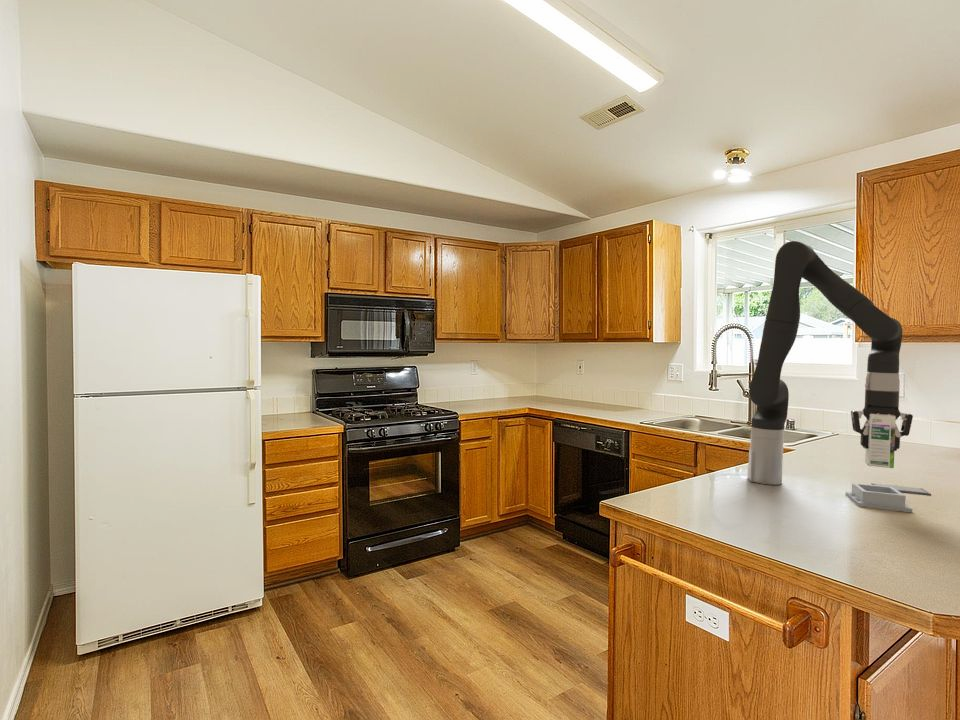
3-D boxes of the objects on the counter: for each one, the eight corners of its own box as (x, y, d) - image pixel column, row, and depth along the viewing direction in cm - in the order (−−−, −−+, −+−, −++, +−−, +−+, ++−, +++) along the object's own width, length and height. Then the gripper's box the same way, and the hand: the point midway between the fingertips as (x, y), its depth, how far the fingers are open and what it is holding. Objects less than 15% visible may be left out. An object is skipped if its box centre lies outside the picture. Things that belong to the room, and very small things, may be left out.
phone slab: (931, 497, 157) (931, 493, 157) (878, 491, 162) (878, 488, 162) (921, 491, 163) (921, 488, 163) (871, 486, 168) (871, 483, 168)
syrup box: (868, 466, 146) (870, 413, 145) (864, 462, 151) (866, 411, 150) (894, 468, 143) (896, 415, 142) (889, 464, 148) (891, 413, 148)
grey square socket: (858, 506, 144) (858, 491, 144) (845, 495, 155) (846, 481, 155) (912, 512, 139) (913, 497, 139) (895, 500, 151) (895, 486, 151)
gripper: (855, 388, 145) (853, 449, 146) (919, 391, 140) (917, 454, 141) (847, 386, 152) (845, 444, 153) (908, 389, 147) (905, 449, 148)
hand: (879, 449), depth 147 cm, fingers closed on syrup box, 6 cm apart
